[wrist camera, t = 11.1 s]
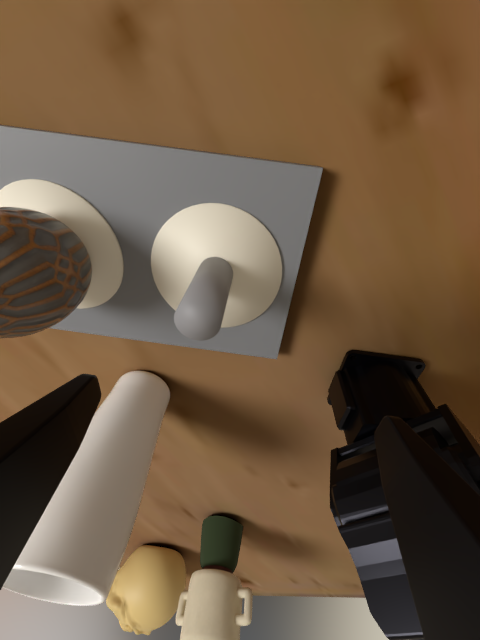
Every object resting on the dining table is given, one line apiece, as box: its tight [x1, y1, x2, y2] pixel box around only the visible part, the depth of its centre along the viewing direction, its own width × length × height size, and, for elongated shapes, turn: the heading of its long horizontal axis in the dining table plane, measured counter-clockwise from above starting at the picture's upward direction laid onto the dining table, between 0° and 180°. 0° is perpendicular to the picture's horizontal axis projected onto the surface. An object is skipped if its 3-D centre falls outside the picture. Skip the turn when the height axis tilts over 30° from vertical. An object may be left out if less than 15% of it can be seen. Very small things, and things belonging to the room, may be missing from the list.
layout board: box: [0, 125, 323, 359], centre depth 17 cm, size 22×14×7 cm, turn 84°
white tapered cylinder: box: [2, 371, 170, 606], centre depth 22 cm, size 7×7×15 cm
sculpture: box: [106, 545, 186, 635], centre depth 48 cm, size 11×12×11 cm
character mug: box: [176, 516, 252, 640], centre depth 38 cm, size 11×7×13 cm, turn 117°
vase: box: [0, 207, 92, 338], centre depth 15 cm, size 7×7×9 cm
